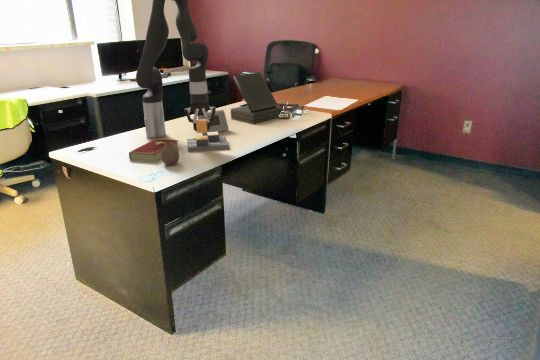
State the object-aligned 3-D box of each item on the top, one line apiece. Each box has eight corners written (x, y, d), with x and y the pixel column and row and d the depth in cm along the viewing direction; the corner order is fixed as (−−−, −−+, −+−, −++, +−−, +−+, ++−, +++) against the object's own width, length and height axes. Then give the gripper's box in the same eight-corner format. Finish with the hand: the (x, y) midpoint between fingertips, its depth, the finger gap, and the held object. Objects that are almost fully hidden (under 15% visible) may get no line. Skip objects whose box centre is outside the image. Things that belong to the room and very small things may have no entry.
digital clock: (202, 136, 208) (200, 115, 204) (195, 132, 215) (194, 112, 211) (231, 132, 215) (230, 111, 211) (224, 128, 222) (223, 108, 219)
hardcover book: (129, 161, 175) (128, 151, 173) (155, 146, 194) (154, 138, 192) (155, 163, 172) (154, 153, 170) (179, 148, 191) (178, 139, 189)
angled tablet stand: (253, 124, 230) (251, 78, 221) (230, 119, 243) (228, 75, 234) (282, 117, 244) (282, 74, 235) (259, 113, 258) (258, 71, 249)
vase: (181, 161, 172) (179, 140, 169) (178, 166, 166) (176, 145, 163) (164, 161, 172) (161, 141, 169) (160, 167, 166) (158, 146, 162)
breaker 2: (218, 137, 197) (217, 131, 195) (219, 140, 192) (218, 134, 191) (207, 138, 196) (207, 132, 195) (208, 141, 191) (207, 134, 190)
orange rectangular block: (197, 133, 183) (196, 121, 181) (196, 130, 187) (195, 119, 185) (207, 132, 184) (206, 121, 182) (206, 129, 188) (205, 118, 186)
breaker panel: (187, 151, 184) (187, 146, 183) (187, 143, 197) (186, 137, 196) (228, 148, 187) (228, 143, 186) (225, 140, 200) (225, 135, 199)
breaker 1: (207, 142, 190) (207, 135, 189) (208, 145, 186) (207, 138, 184) (196, 142, 189) (195, 136, 188) (196, 145, 185) (196, 139, 184)
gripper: (181, 94, 174) (185, 134, 181) (216, 92, 177) (218, 131, 183) (181, 91, 181) (185, 129, 187) (214, 89, 184) (217, 127, 190)
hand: (201, 130), depth 185 cm, fingers closed on orange rectangular block, 4 cm apart
